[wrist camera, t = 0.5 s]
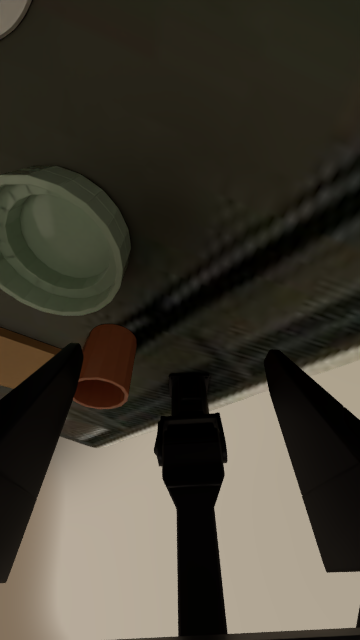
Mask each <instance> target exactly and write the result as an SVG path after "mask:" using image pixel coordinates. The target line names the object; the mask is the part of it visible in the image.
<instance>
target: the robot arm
mask: <svg viewBox="0 0 360 640" xmlns="http://www.w3.org/2000/svg"><path fill="white" fill-rule="evenodd" d="M83 360H84V355H83V352H82V349H81V346H80V344H79V343H70V344H68V345H67V346H66V347H64V348H63V349H62V350H61V351H60V352H58V353H57V354H56V355H55V356H53V357H52V358H51V359H50V360H49V361H47V362H46V363H45V364H44V365H42V366H41V367H40V368H39V369H37V370H36V371H35V372H34V373H33V374H31V375H30V376H29V377H28V378H26V379H25V380H24V381H23V382H22V383H20V384H19V385H18V386H17V387H15V388H14V389H13V390H12V391H11V392H9V393H8V394H7V395H6V396H4V397H3V398H2V399H1V400H0V583H5V582H6V581H7V579H8V576H9V573H10V571H11V568H12V566H13V563H14V560H15V557H16V555H17V552H18V549H19V546H20V544H21V541H22V538H23V535H24V532H25V530H26V527H27V524H28V522H29V519H30V516H31V513H32V511H33V508H34V505H35V502H36V500H37V499H36V498H37V497H38V494H39V491H40V488H41V486H42V483H43V480H44V477H45V475H46V472H47V469H48V466H49V464H50V461H51V458H52V455H53V453H54V450H55V447H56V445H57V442H58V439H59V436H60V434H61V431H62V428H63V425H64V423H65V420H66V417H67V414H68V412H69V409H70V406H71V403H72V401H73V398H74V395H75V392H76V389H77V385H78V381H79V377H80V373H81V368H82V364H83ZM264 367H265V372H266V377H267V382H268V387H269V392H270V396H271V399H272V402H273V405H274V409H275V412H276V415H277V418H278V421H279V424H280V427H281V431H282V434H283V437H284V440H285V443H286V447H287V449H288V453H289V456H290V459H291V462H292V465H293V469H294V472H295V475H296V478H297V481H298V484H299V488H300V490H301V494H302V495H303V496H302V498H303V500H304V504H305V507H306V510H307V513H308V516H309V520H310V523H311V526H312V529H313V532H314V535H315V539H316V542H317V545H318V548H319V551H320V554H321V557H322V561H323V564H324V567H325V569H326V572H356V571H360V420H359V419H358V418H357V417H355V416H354V415H353V414H352V413H351V412H350V411H349V410H347V409H346V408H345V407H343V405H342V404H340V403H339V402H338V401H337V400H336V399H335V398H334V397H332V396H331V395H330V394H329V393H328V392H327V391H325V390H324V389H323V388H322V387H321V386H320V385H319V384H317V383H316V382H315V381H314V380H313V379H312V378H311V377H310V376H308V375H307V374H306V373H305V372H304V371H303V370H302V369H300V368H299V367H298V366H297V365H296V364H295V363H294V362H292V361H291V360H290V359H289V358H288V357H287V356H285V355H284V354H283V353H282V352H281V351H280V350H273V349H271V350H269V352H268V354H267V356H266V358H265V360H264ZM209 378H210V377H209V374H170V375H169V391H170V397H171V398H172V416H161V420H160V421H159V422H158V432H157V438H156V442H155V447H154V453H155V454H156V455H157V459H158V463H159V466H162V477H163V481H164V483H165V485H166V487H167V489H168V491H169V494H170V496H171V498H172V500H173V502H174V504H175V506H176V509H177V559H178V631H179V633H178V635H179V637H161V638H160V637H159V638H140V639H119V640H360V608H359V614H358V620H357V626H356V628H343V629H322V630H304V631H303V630H302V631H283V632H282V631H281V632H261V633H241V634H227V625H226V616H225V606H224V597H223V587H222V578H221V568H220V559H219V549H218V541H217V531H216V521H215V512H214V506H215V503H216V500H217V497H218V494H219V491H220V488H221V485H222V481H223V479H224V467H223V463H227V449H226V442H225V437H224V432H223V427H222V423H221V418H220V413H215V414H209V408H208V400H207V390H208V384H209Z"/></svg>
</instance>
